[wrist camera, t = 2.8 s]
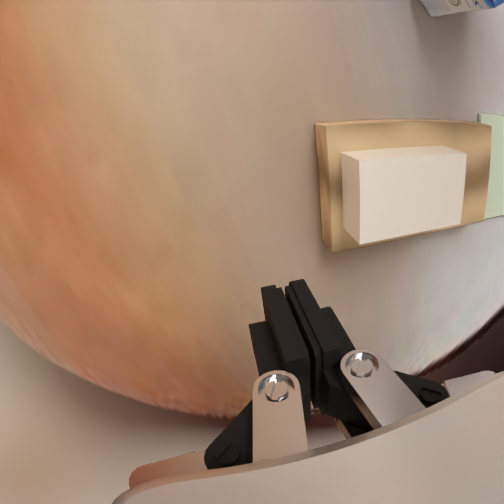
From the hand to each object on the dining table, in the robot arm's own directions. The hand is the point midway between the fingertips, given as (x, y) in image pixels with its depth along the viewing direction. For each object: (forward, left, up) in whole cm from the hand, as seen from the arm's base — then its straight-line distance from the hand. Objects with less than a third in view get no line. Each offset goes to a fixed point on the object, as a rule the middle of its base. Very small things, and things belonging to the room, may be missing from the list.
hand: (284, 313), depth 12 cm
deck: (0, +15, -14) cm, 21 cm away
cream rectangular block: (0, +12, -12) cm, 17 cm away
